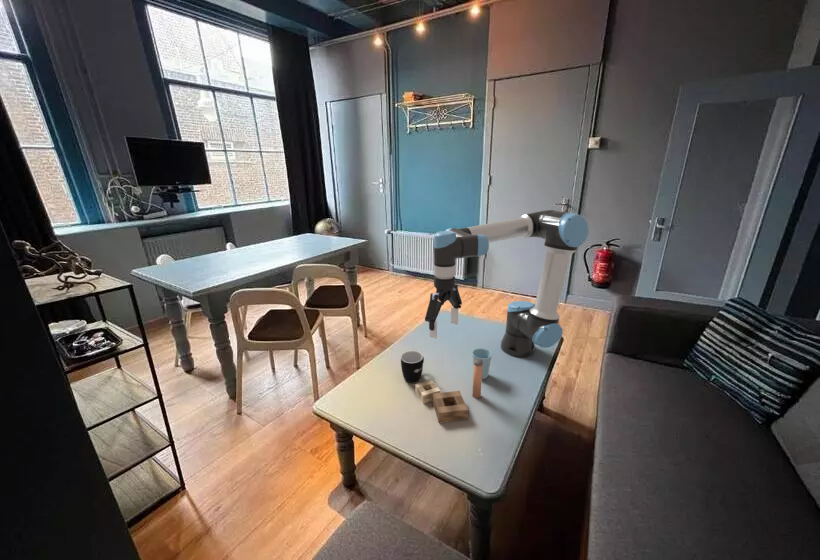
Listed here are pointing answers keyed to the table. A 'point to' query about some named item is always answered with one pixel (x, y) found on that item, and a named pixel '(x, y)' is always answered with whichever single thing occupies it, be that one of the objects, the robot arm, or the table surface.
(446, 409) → the brown wooden square frame
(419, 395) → the bead beech
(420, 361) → the mug
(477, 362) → the dowel
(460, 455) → the table surface
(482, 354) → the cup
